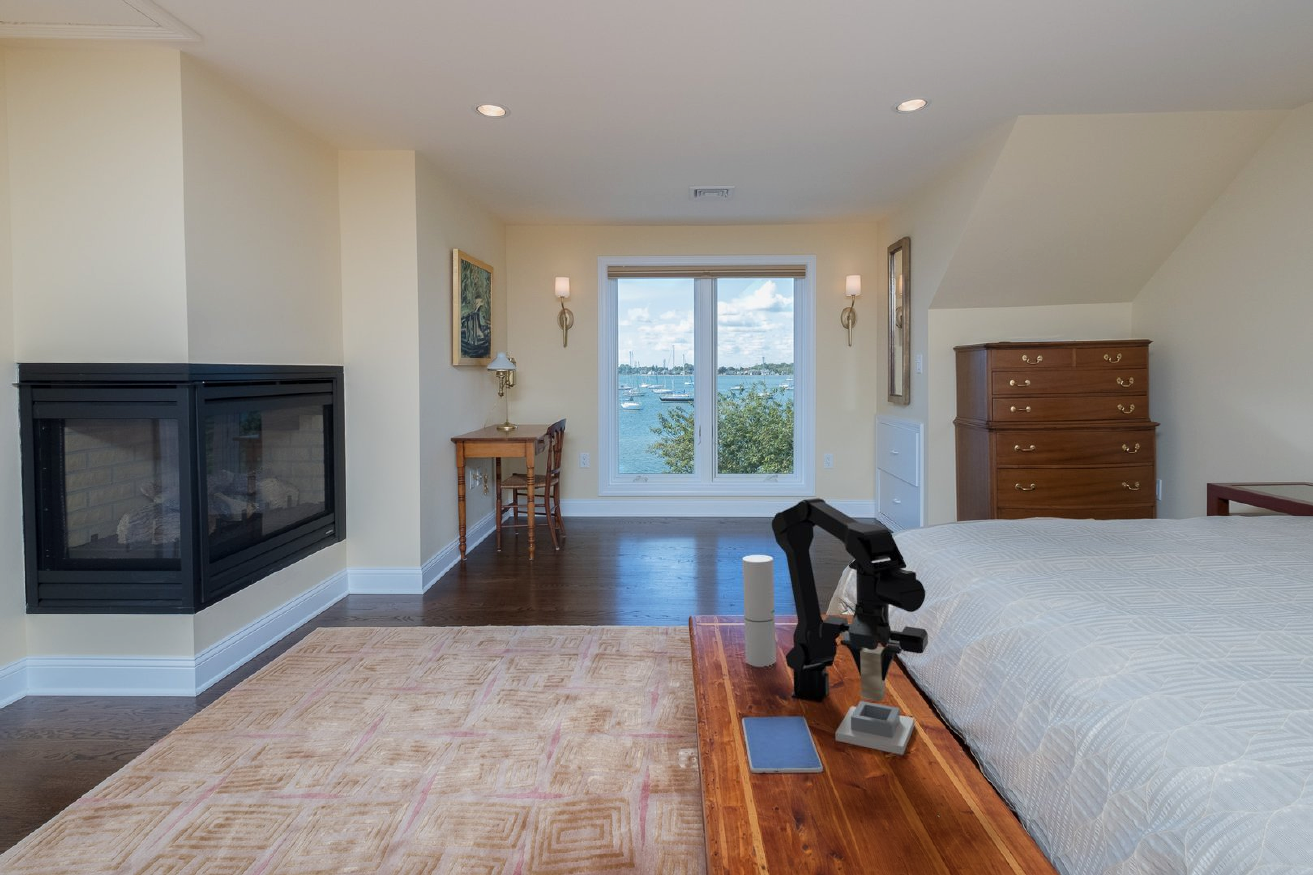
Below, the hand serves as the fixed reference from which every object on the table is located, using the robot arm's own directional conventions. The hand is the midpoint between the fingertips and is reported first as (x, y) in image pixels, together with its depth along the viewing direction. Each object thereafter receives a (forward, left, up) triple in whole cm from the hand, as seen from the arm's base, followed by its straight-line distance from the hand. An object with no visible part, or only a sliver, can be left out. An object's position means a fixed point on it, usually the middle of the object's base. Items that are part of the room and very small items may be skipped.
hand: (872, 677), depth 133 cm
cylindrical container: (-32, +24, -11) cm, 42 cm away
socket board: (0, +1, -11) cm, 11 cm away
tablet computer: (-15, -11, -12) cm, 22 cm away
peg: (0, 0, -4) cm, 4 cm away
